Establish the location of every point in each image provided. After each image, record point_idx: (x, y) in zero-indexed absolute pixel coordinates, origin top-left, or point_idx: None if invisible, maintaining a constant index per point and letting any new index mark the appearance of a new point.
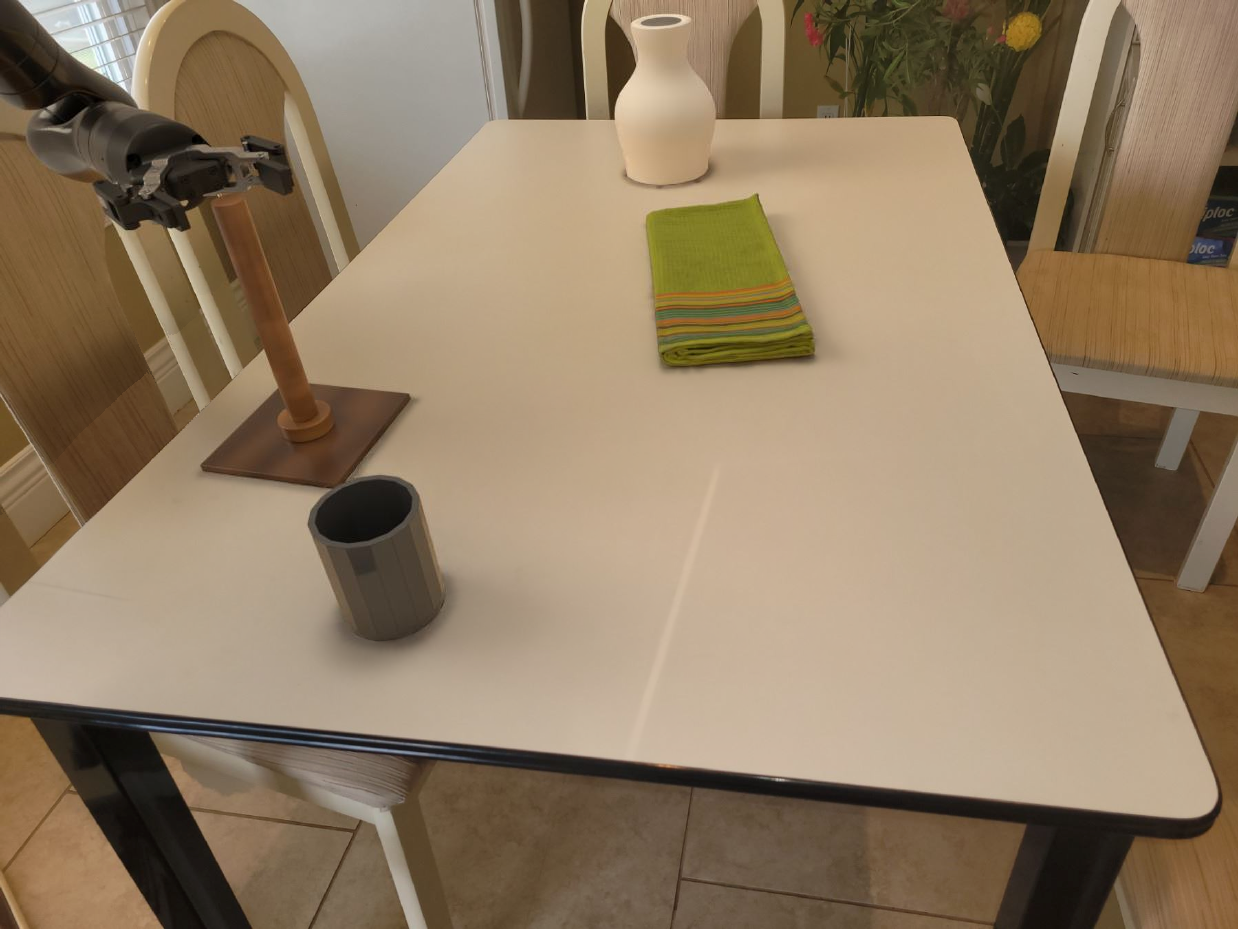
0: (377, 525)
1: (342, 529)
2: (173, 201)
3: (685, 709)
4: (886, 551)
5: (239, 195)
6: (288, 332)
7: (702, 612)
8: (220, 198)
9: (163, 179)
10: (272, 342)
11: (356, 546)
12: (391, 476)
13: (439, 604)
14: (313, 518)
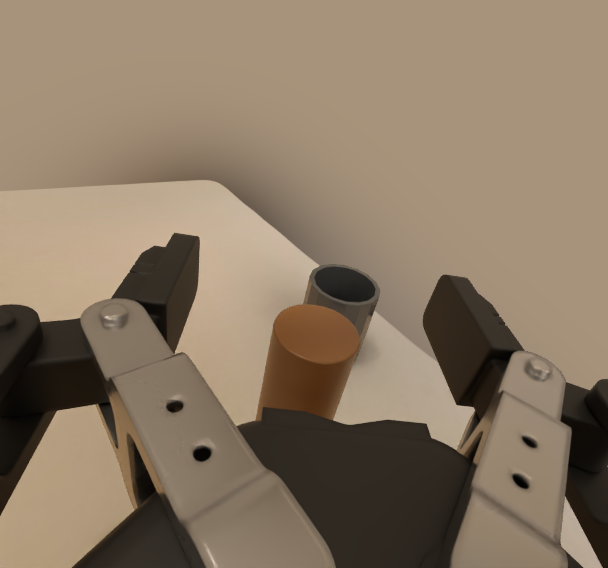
0: None
1: None
2: (459, 279)
3: (274, 247)
4: (149, 222)
5: (283, 324)
6: None
7: (227, 254)
8: (326, 347)
9: (486, 422)
10: None
11: (362, 272)
12: (315, 287)
13: None
14: (373, 297)
